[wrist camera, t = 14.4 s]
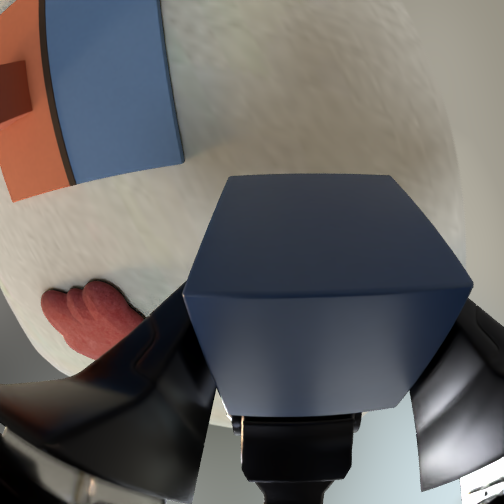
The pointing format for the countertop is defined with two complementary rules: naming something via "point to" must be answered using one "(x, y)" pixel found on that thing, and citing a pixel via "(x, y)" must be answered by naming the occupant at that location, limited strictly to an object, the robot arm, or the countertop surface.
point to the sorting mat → (87, 93)
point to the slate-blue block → (320, 294)
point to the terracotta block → (13, 93)
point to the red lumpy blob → (90, 317)
